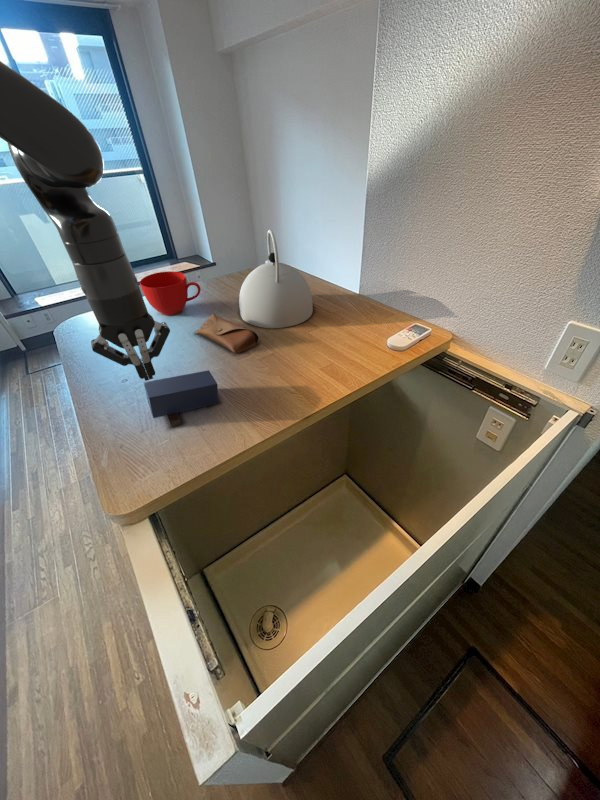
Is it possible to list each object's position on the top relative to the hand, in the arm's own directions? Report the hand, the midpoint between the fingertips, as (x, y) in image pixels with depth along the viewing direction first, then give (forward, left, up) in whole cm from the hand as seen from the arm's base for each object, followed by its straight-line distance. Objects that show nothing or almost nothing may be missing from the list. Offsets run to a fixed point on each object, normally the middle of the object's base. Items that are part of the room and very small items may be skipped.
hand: (148, 377), depth 61 cm
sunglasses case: (+22, +22, -9) cm, 32 cm away
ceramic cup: (+15, +46, -9) cm, 49 cm away
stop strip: (+2, 0, -9) cm, 9 cm away
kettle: (+42, +31, -9) cm, 53 cm away
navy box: (-2, 0, -5) cm, 5 cm away
